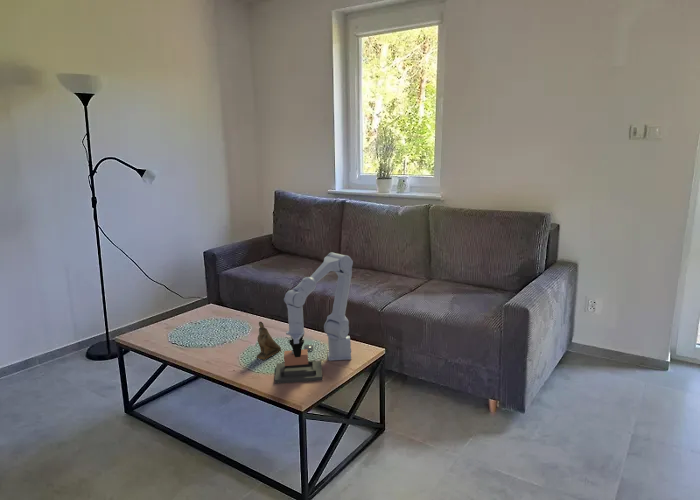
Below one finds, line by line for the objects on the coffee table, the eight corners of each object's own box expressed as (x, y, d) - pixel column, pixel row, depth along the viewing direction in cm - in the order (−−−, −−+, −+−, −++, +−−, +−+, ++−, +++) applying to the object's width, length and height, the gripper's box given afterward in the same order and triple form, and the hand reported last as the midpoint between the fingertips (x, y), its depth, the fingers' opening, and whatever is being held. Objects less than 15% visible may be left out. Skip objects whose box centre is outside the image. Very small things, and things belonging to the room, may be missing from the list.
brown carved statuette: (264, 365, 209) (255, 329, 202) (255, 362, 212) (246, 326, 205) (283, 350, 218) (275, 315, 210) (274, 347, 221) (266, 312, 214)
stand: (321, 363, 203) (321, 357, 203) (322, 380, 190) (322, 373, 189) (277, 366, 202) (276, 360, 201) (274, 383, 188) (274, 376, 188)
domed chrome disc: (313, 347, 220) (313, 344, 219) (313, 351, 216) (313, 348, 216) (304, 348, 219) (304, 345, 219) (304, 352, 216) (304, 348, 215)
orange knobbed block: (285, 360, 197) (284, 348, 196) (308, 358, 198) (307, 346, 196) (284, 366, 192) (283, 354, 191) (308, 364, 193) (307, 352, 192)
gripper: (286, 314, 198) (288, 346, 201) (284, 328, 184) (286, 362, 187) (303, 313, 198) (305, 345, 201) (303, 327, 184) (305, 361, 187)
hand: (297, 353), depth 194 cm, fingers closed on orange knobbed block, 5 cm apart
